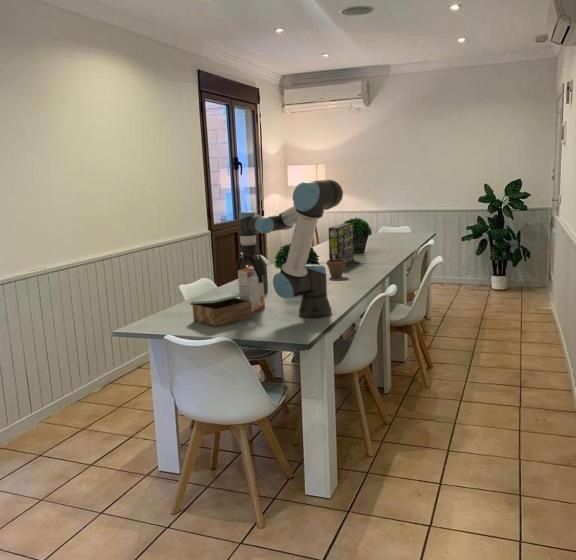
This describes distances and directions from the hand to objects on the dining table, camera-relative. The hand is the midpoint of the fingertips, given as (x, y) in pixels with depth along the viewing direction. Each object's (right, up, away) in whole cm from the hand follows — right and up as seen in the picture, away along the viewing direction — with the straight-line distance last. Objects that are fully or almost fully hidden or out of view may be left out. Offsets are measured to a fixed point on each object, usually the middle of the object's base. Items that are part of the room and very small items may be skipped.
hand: (251, 287), depth 282 cm
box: (+55, +14, +119) cm, 132 cm away
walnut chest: (-12, -15, -13) cm, 23 cm away
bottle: (+2, -3, +42) cm, 42 cm away
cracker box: (+1, -11, +2) cm, 11 cm away
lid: (-13, -5, -15) cm, 20 cm away
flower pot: (+48, +5, +74) cm, 88 cm away
